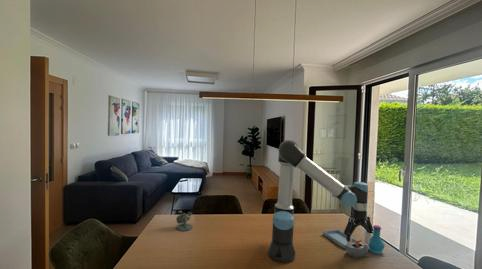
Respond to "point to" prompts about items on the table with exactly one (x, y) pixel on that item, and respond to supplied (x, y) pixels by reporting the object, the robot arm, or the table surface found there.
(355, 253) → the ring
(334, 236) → the tray
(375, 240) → the perfume bottle
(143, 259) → the table surface
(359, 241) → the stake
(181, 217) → the figurine
